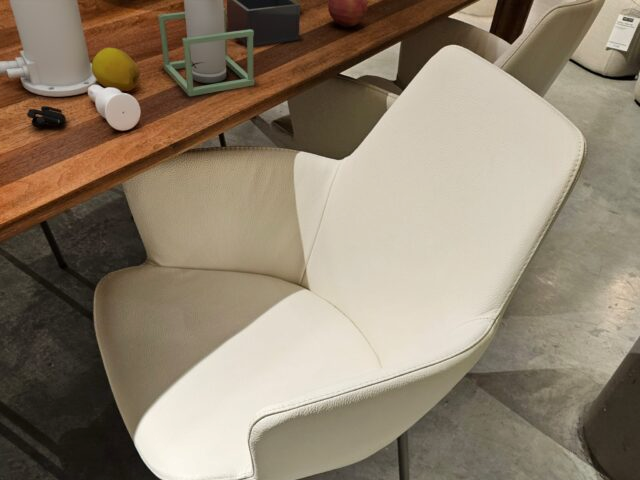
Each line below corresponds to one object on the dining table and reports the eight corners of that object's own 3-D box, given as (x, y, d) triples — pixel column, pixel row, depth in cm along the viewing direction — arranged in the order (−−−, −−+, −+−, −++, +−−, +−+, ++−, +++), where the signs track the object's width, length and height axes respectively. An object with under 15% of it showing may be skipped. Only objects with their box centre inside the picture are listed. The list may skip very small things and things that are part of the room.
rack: (189, 96, 97) (184, 40, 90) (163, 68, 104) (157, 14, 97) (254, 85, 102) (254, 31, 95) (225, 59, 109) (223, 7, 102)
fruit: (320, 21, 126) (324, -31, 119) (354, 19, 129) (359, -32, 122) (336, 35, 121) (341, -19, 114) (370, 32, 124) (377, -21, 117)
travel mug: (192, 85, 100) (181, -49, 85) (188, 69, 104) (177, -61, 90) (229, 84, 101) (224, -49, 87) (223, 68, 106) (217, -60, 91)
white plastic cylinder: (100, 125, 84) (72, 102, 92) (135, 134, 88) (105, 112, 95) (110, 88, 82) (81, 68, 90) (145, 100, 86) (114, 79, 94)
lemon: (153, 75, 98) (115, 49, 98) (138, 57, 91) (97, 30, 92) (131, 107, 98) (93, 81, 98) (115, 91, 91) (75, 64, 92)
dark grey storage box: (247, 47, 113) (247, 10, 109) (227, 30, 119) (226, -5, 114) (298, 40, 118) (300, 4, 113) (277, 24, 123) (277, -11, 119)
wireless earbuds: (63, 123, 84) (24, 113, 82) (61, 140, 85) (23, 131, 83) (67, 109, 89) (31, 99, 87) (65, 125, 90) (29, 116, 88)
